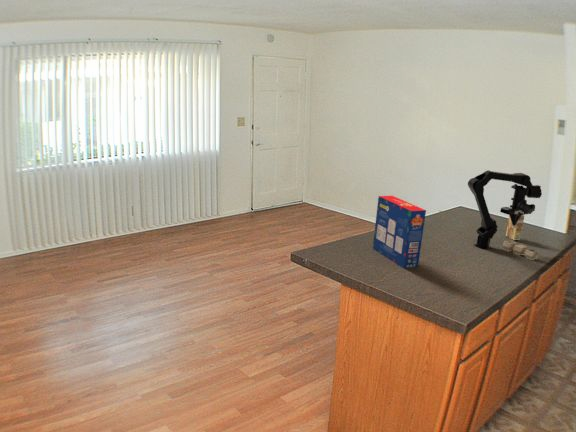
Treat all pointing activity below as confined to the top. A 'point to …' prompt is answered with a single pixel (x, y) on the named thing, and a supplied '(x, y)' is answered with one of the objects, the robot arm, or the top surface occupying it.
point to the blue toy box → (399, 231)
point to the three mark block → (531, 253)
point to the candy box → (515, 228)
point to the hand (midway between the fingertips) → (513, 225)
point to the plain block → (519, 249)
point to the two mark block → (509, 245)
